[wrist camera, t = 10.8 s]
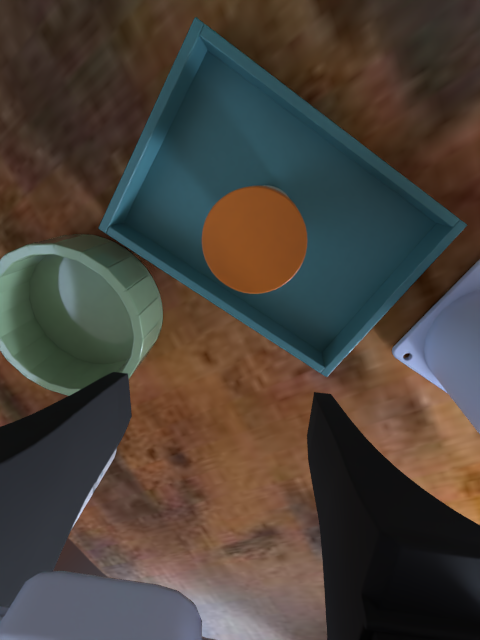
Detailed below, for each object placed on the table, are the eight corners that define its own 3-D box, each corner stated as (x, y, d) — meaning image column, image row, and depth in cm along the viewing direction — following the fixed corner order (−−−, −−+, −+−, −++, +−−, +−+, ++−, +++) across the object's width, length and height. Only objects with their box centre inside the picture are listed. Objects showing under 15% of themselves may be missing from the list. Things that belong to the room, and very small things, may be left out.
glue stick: (309, 207, 19) (330, 228, 11) (272, 259, 21) (266, 312, 12) (256, 169, 19) (238, 162, 11) (222, 225, 20) (182, 257, 12)
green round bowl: (188, 289, 23) (171, 309, 19) (126, 389, 26) (102, 421, 23) (55, 202, 21) (11, 207, 18) (9, 320, 25) (-35, 343, 22)
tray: (446, 219, 19) (467, 225, 17) (322, 358, 23) (326, 377, 21) (206, 37, 17) (194, 16, 15) (117, 223, 22) (97, 228, 19)
